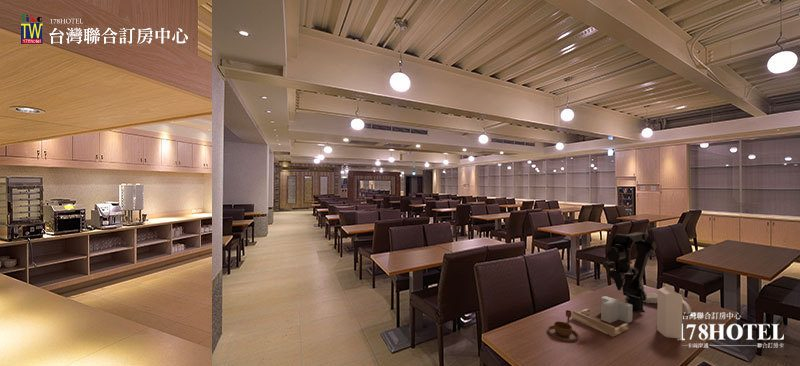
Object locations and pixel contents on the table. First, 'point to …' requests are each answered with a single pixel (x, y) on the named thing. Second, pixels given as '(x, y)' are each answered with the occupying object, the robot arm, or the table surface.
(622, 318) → the t block
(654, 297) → the spoon rest
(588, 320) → the birch bay
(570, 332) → the brown cup and saucer
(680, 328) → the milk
